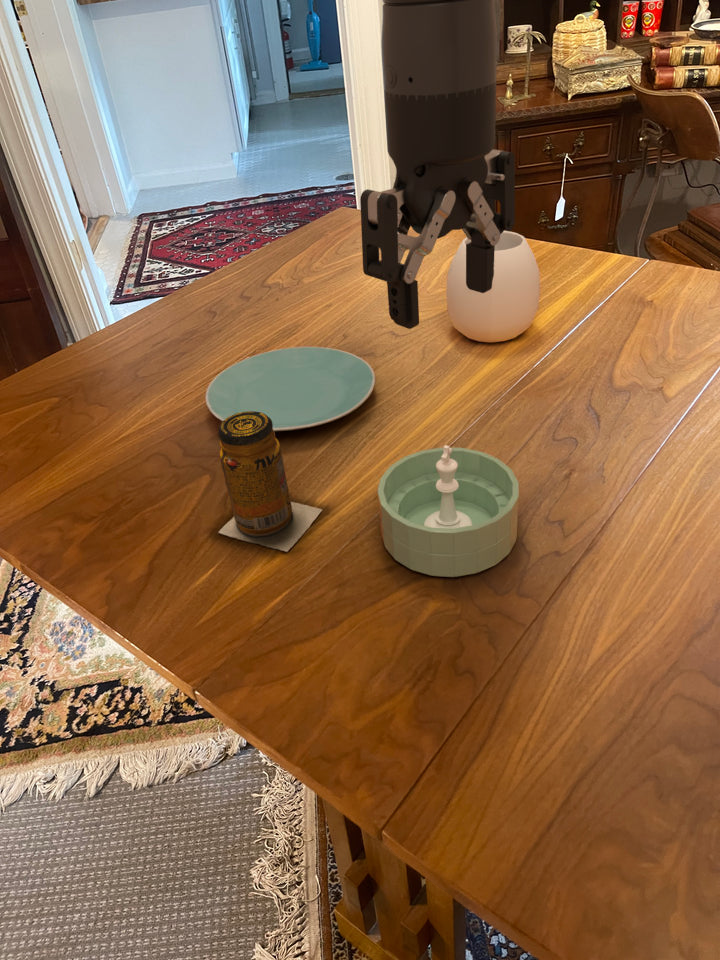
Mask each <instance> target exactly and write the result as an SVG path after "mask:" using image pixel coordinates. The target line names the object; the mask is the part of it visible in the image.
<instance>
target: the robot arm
mask: <svg viewBox="0 0 720 960" xmlns="http://www.w3.org/2000/svg"><path fill="white" fill-rule="evenodd" d="M382 3H383V4H382V21H381V22H382V23H381V38H380V39H381V40H380V41H381V42H380V45H381V46H380V47H381V48H380V49H381V63H382V64H381V65H382V66H381V67H382V83H383V98H384V115H385V116H384V117H385V131H386V132H385V133H386V147H387V148H386V149H387V153H388V155H389V157H390V159H391V160H392V162H393V164H394V166H395V171H396V173H395V179H394V183H393V187H392V188H389V189H385V190H382V191H377V190H372V189H365V190H363V191H362V192H361V194H360V197H359V198H360V199H359V201H360V205H359V206H360V225H361V227H360V228H361V253H362V271H363V274H364V275H365V276H367V277H371V278H374V279H377V280H381V281H383V282H386V286H387V301H388V314H389V317H390V319H391V320H392V321H393V322H394V324H395V325H397V326H400V327H403V328H406V329H408V330H411V329H414V328H415V327H418V326H419V324H420V308H419V305H420V304H419V284H418V280H416V278H417V276H418V273H419V270H420V268H421V265H422V263H423V260H424V259H425V257H426V256H428V255H430V254H431V253H432V252H433V250H434V247H435V245H436V242H437V240H439V239H441V238H444V237H445V236H447V235H448V234H449V233H450V232H452V231H460V230H462V232H463V233H464V234H465V237H467V238H468V239H469V240H471V242H470V243H468V244H466V285H467V287H468V288H469V289H470V290H473V291H477V292H480V293H485V292H487V291H489V290H491V288H492V280H493V277H494V247H495V245H496V244H497V243H498V242H499V239H500V234H501V233H502V232H503V231H509V232H512V230H513V229H514V227H515V222H516V193H515V192H516V188H515V187H516V175H515V174H516V158H515V154H514V153H513V152H512V151H505V150H499V149H494V147H495V145H496V111H497V110H496V109H497V108H496V107H497V71H498V70H497V68H498V67H497V65H498V64H497V61H498V58H497V57H498V30H497V19H496V11H495V10H496V9H495V0H382ZM496 201H498V202H499V205H500V208H499V209H500V212H497V211H496ZM410 229H412V230H413V231H414V232H415V233H417V234H418V236H412V235H408V234H409V231H410ZM407 251H408V253H407V255H406V258H405V261H404V263H401V262H402V261H403V259H404V255H405V253H406V252H407Z"/></svg>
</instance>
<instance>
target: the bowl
mask: <svg viewBox="0 0 720 960" xmlns="http://www.w3.org/2000/svg"><path fill="white" fill-rule="evenodd" d="M443 447H444V446H442V447H436V448H435V447H434V448H429V449H422V450H419V451H416V452H413V453H411V454H408V455H406V456H403V457H402V458H400V459H399V460H397V461H395V462H394V463H393V464H391V465H390V466H388V468H387V469H386V471H385V472H384V473H383V474H382V475H381V477H380V480H379V483H378V486H377V493H376V494H377V501H378V502H377V503H378V513H379V524H380V535H381V538H382V542H383V546H384V548H385V549H386V551H388V553H389V554H390V555H391V556H392V558H393V559H394V560H395V561H397V562H398V563H400V564H401V565H403V566H404V567H406V568H407V569H409V570H411V571H414V572H418V573H421V574H424V575H427V576H433V577H447V578H455V577H457V578H458V577H462V576H467V575H474V574H479V573H480V572H483V571H485V570H487V569H489V568H493V567H494V566H496V565H498V564H499V563H500V562H501V561H502V560H504V559H505V558H506V557H507V556H509V554H510V553H511V551H512V549H513V547H514V545H515V543H516V541H517V539H518V538H517V537H518V523H519V522H518V520H519V518H518V517H519V502H520V501H519V500H520V482H519V480H518V479H517V476H516V474H515V473H514V471H513V469H512V468H510V467H509V466H508V465H507V464H505V463H504V462H503V461H502V460H501V459H500V458H497V457H496V456H493V455H491V454H488V453H486V452H484V451H481V450H475V449H471V448H466V447H455V446H454V447H453V446H452V447H451V446H450V448H452V453H451V454H450V459H453V460H455V461H456V462H457V464H458V467H457V470H456V472H455V475H454V478H453V479H455V480H456V481H457V482H458V485H459V487H458V489H457V490H456V491H454V492H453V498H454V504H455V510H456V511H460V512H462V513H464V514H466V515H467V516H468V517H469V518H470V519H471V521H472V524H473V525H472V526H466V527H459V528H453V529H451V528H431V527H427V526H424V522H425V520H426V519H427V517H428V516H430V515H431V514H433V513H435V512H437V511H440V506H441V499H442V492H440V491H439V490H437V488H436V483H437V481H438V480H439V479H441V478H440V475H439V473H438V471H437V469H436V463H437V462H438V461H439V460H441V456H442V455H443Z"/></svg>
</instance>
